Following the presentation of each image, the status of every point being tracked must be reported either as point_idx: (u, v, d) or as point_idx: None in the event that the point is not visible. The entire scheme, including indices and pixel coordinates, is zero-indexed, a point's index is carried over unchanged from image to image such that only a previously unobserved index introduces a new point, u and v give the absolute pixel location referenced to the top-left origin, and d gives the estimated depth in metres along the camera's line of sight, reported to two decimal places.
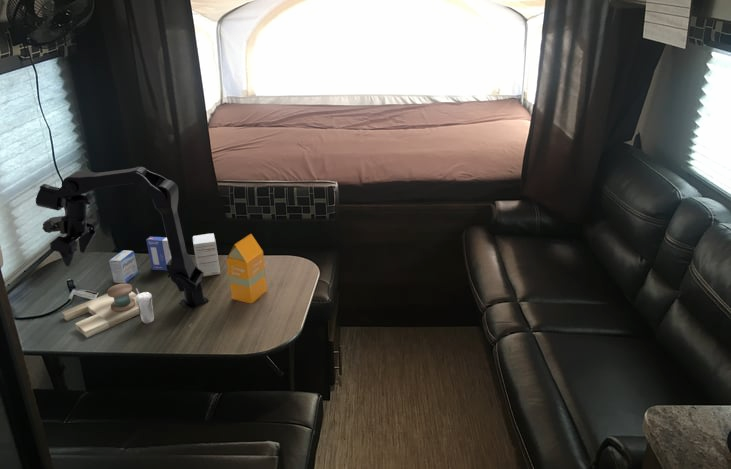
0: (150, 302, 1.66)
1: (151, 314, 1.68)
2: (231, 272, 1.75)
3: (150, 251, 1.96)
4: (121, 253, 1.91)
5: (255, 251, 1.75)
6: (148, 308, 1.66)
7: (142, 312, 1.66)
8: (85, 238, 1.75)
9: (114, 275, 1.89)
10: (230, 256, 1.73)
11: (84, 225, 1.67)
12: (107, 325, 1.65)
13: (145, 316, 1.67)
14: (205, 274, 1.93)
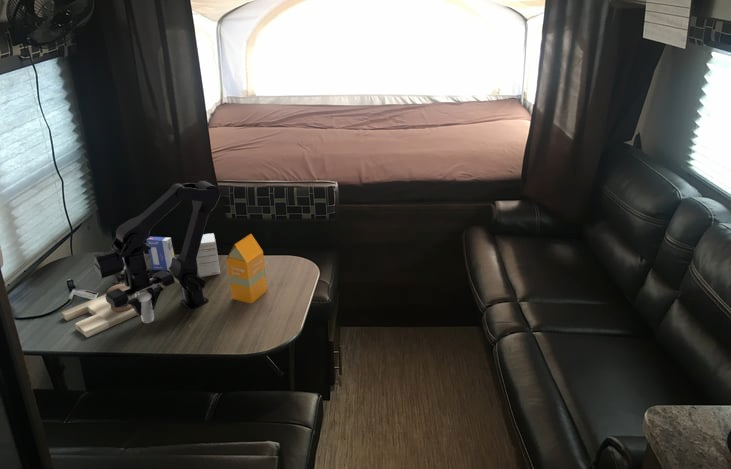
0: (150, 302, 1.66)
1: (151, 314, 1.68)
2: (231, 272, 1.75)
3: (150, 251, 1.96)
4: None
5: (255, 251, 1.75)
6: (148, 308, 1.66)
7: (142, 312, 1.66)
8: None
9: None
10: (230, 256, 1.73)
11: (141, 279, 1.61)
12: (107, 325, 1.65)
13: (145, 316, 1.67)
14: (205, 274, 1.93)
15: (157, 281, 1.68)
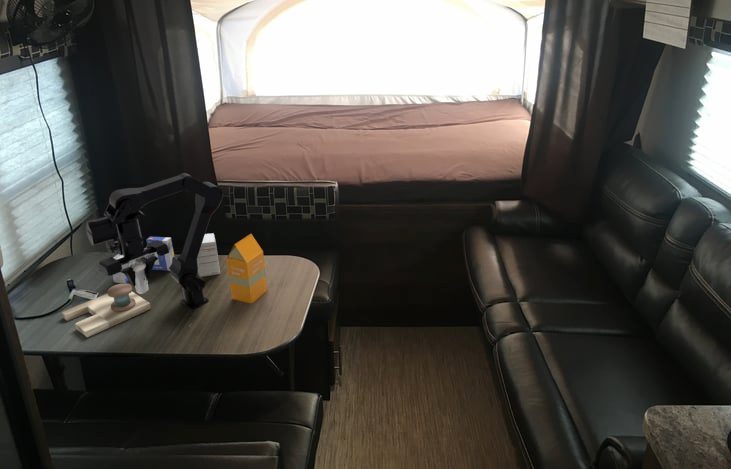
0: (144, 272, 1.62)
1: (145, 284, 1.64)
2: (231, 272, 1.75)
3: None
4: None
5: (255, 251, 1.75)
6: (142, 278, 1.62)
7: (136, 282, 1.62)
8: None
9: (114, 275, 1.89)
10: (230, 256, 1.73)
11: (135, 247, 1.57)
12: (107, 325, 1.65)
13: (139, 286, 1.63)
14: (205, 274, 1.93)
15: (151, 250, 1.64)
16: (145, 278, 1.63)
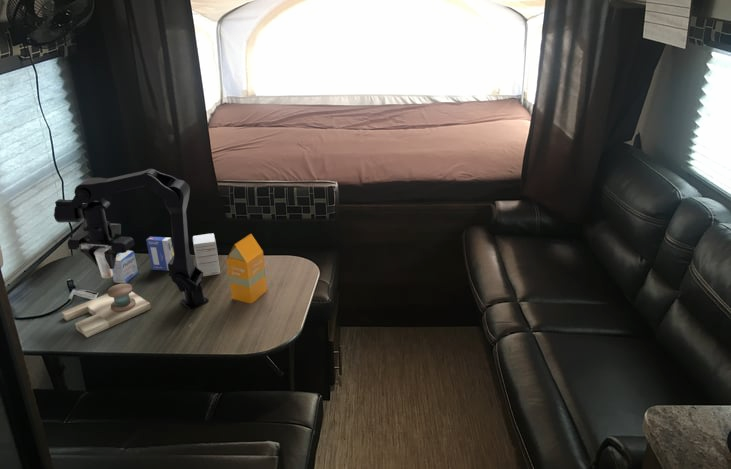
0: (102, 259, 1.69)
1: (104, 271, 1.71)
2: (231, 272, 1.75)
3: (150, 251, 1.96)
4: (121, 253, 1.91)
5: (255, 251, 1.75)
6: (99, 264, 1.70)
7: (98, 265, 1.72)
8: None
9: (114, 275, 1.89)
10: (230, 256, 1.73)
11: (90, 234, 1.65)
12: (107, 325, 1.65)
13: None
14: (205, 274, 1.93)
15: None
16: (103, 265, 1.70)
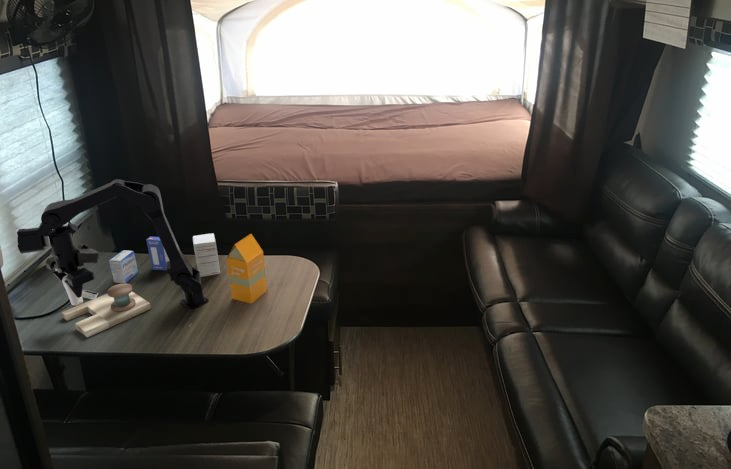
0: (66, 286, 1.62)
1: (70, 298, 1.65)
2: (231, 272, 1.75)
3: (150, 251, 1.96)
4: (121, 253, 1.91)
5: (255, 251, 1.75)
6: (66, 290, 1.64)
7: None
8: None
9: (114, 275, 1.89)
10: (230, 256, 1.73)
11: (55, 259, 1.59)
12: (107, 325, 1.65)
13: None
14: (205, 274, 1.93)
15: None
16: (68, 292, 1.63)
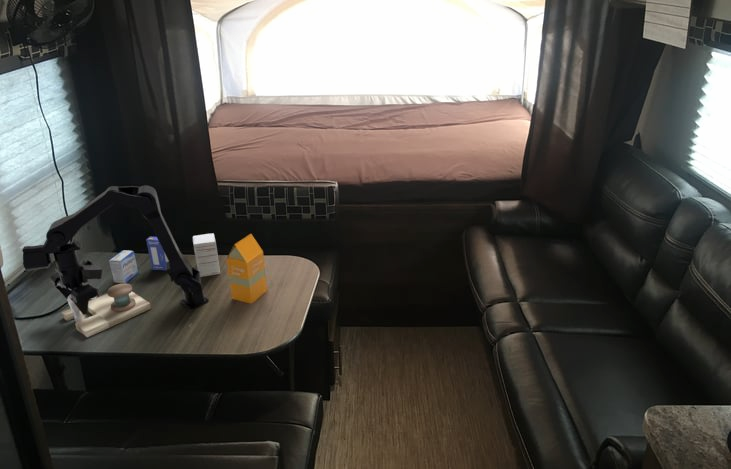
0: (71, 305, 1.65)
1: (75, 316, 1.67)
2: (231, 272, 1.75)
3: (150, 251, 1.96)
4: (121, 253, 1.91)
5: (255, 251, 1.75)
6: None
7: None
8: None
9: (114, 275, 1.89)
10: (230, 256, 1.73)
11: (59, 276, 1.62)
12: (107, 325, 1.65)
13: None
14: (205, 274, 1.93)
15: None
16: (73, 311, 1.66)
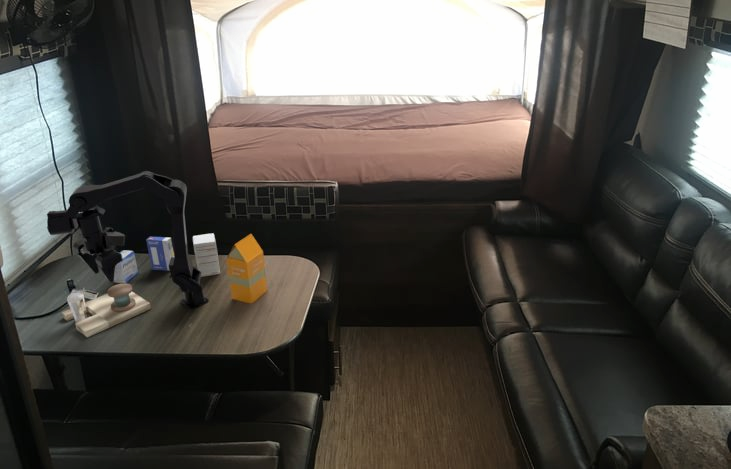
0: (71, 305, 1.65)
1: (75, 316, 1.67)
2: (231, 272, 1.75)
3: (150, 251, 1.96)
4: (121, 253, 1.91)
5: (255, 251, 1.75)
6: None
7: None
8: None
9: (114, 275, 1.89)
10: (230, 256, 1.73)
11: (83, 242, 1.63)
12: (107, 325, 1.65)
13: None
14: (205, 274, 1.93)
15: None
16: (73, 311, 1.66)
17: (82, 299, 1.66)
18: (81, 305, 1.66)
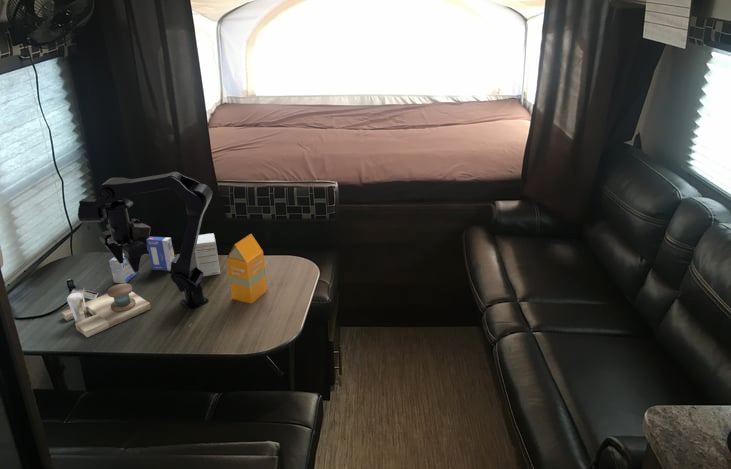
0: (71, 305, 1.65)
1: (75, 316, 1.67)
2: (231, 272, 1.75)
3: (150, 251, 1.96)
4: None
5: (255, 251, 1.75)
6: None
7: None
8: None
9: (114, 275, 1.89)
10: (230, 256, 1.73)
11: (110, 232, 1.67)
12: (107, 325, 1.65)
13: None
14: (205, 274, 1.93)
15: None
16: (73, 311, 1.66)
17: (82, 299, 1.66)
18: (81, 305, 1.66)
